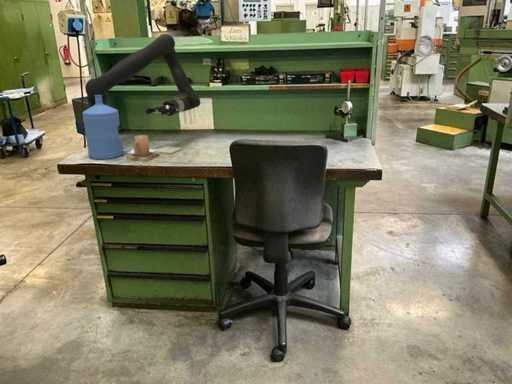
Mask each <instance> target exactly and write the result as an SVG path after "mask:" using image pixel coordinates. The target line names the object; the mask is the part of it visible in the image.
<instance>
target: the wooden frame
mask: <svg viewBox="0 0 512 384" xmlns="http://www.w3.org/2000/svg"><path fill="white" fill-rule="evenodd" d="M157 157H160V153H157V152H153V151H150V156H148V157H137V155H136V154H134V153H132V154H129V155H127V156H126V160H129V161H130V160H131V161H138V162H144V163H145V162H149V161H150V160H153V159H156V158H157Z"/></svg>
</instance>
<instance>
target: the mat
mask: <svg viewBox="0 0 512 384" xmlns="http://www.w3.org/2000/svg"><path fill="white" fill-rule="evenodd" d="M182 150H183V147H177V146H163V147H160V148H158V149H155V150H153V151H152V152H157V153H159V154H162V155H163V154H164V155H174V154H176V153H178V152H181V151H182Z"/></svg>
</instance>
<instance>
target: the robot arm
mask: <svg viewBox="0 0 512 384" xmlns="http://www.w3.org/2000/svg"><path fill="white" fill-rule="evenodd" d="M175 48H176V42H175V38H174V37H173V36H172V35H170V34H167V33H165V34H164V33H163V34H160V35H159V36H158V37H157V38H156V39H154V40H153V41H152V42H150V44H148V45H147V46H144V47H143V48H141V49H139V50H137V51H135V52H133V53H131V54H129V55H128V56H126V57H124V58H123V59H121V60H120V61H118V62H117V63H116V64H115V65H114V66H112V68H111V69H109V70H108V71H106V72H105V73H103V74H100V75H99V76H97V77H95V78H90V79H89V80H88V81H87V82H86V84H85V92H86V96H87V104H88V107H87V108H88V109H89V108H90V107H92V106H94V105H95V104H96V102H95V96H94V95H102V101H103V104H104V105H107V106H109V105H108V101H107V100H108V99H107V92H108V91H110V90H111V89H112V88H114V87H115V86H117V85H119V84H121V83H123V82H125V81H126V80H129V79H131V78H132V77H134V76H136V75H137V74H139V73H140V72H142V71H143V70H145V69H146V68H147V67H148V66H149V65H151V63H153V61H155V60H156V59H158V58H160V57H162V58H163V59H164V60H165V63H166V65H167V67H168V68H169V71H170V74H171V76H172V79H173V82H174V83H175V86H176V88H177V91H178V92H179V93H180V94H187V95H188V96H185V97H178V98H173V99H168V100H165V101H164V102H163V103H162V104H160V105H153V106H148V107H147V109H145V114H146V115H150V114H154V113H155V114H161V116H162V115H163V116H164V115H166V116H167V117H171V116H175V115H177V114H178V115H179V114H180V113H183V112H187V111H190V110H193V109H196V108H198V107H200V106H201V105H200V104H201V98H200V96H199V95H198V93H197V92H196V91H195V90H194V88H193V87H192V85H191V83H190V81H189V79H188V77H187V74H186V71H185V70H184V68H183V67H182V64H181V63H180V61H179V58H178V56H177V53H176V49H175Z"/></svg>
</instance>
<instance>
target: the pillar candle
mask: <svg viewBox="0 0 512 384" xmlns="http://www.w3.org/2000/svg"><path fill="white" fill-rule="evenodd" d="M133 138H134V142H133V145H132V146H133V152H134V153H133V154H136V155H137V157H148V156H150V152H151V151H150V144H149V135H146V134H138V135H134V137H133Z"/></svg>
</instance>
